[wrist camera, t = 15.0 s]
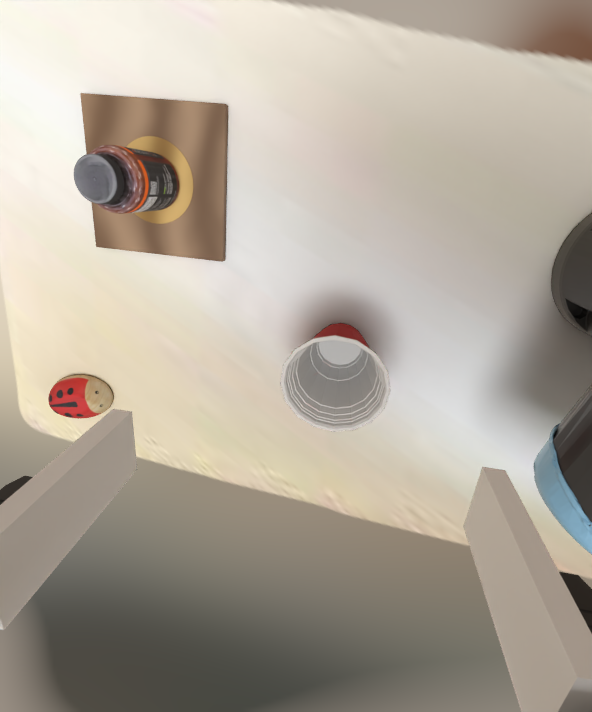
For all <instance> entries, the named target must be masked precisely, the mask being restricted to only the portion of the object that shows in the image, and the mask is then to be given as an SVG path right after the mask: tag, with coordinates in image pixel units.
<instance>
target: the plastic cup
mask: <svg viewBox="0 0 592 712" xmlns="http://www.w3.org/2000/svg"><path fill="white" fill-rule="evenodd" d="M280 384H281V388H282V392H283V395H284V399H285V402H286V403H287V404H288V405H289V407H290V408H291V409H292V411H293V412H294V413H295V414H296V416H297V417H299V418H301V419H302V420H304V421H305V422H307V423H308V424H310V425H312V426H313V427H317V428H321V429H325V430H329V431H333V432H335V431H347V430H355V429H357V428H359V427H361V426H364V425H366V424H368V423H370V422H372V421H373V420H374V419H375V418H376V417H377V416H378V415H379V413H380V412H381V411H382V410H383V409H384V408H385V405H386V402H387V399H388V396H389V393H390V384H389V377H388V371H387V369H386V368H385V366H384V365H383V363H382V362H381V360H380V359H379V357H378V356H377V354H376V353H375V352H374V351H373V350H371V349H370V348H369V346H368V344H367V343H366V341H365V340H364V338H363V337H362V335H361V334H360V333H359V331H358V330H357V329H355V328H354V327H352V326H351V325H347V324H343V323H338V324H332V325H329V326H328V327H326V328H324V329H323V330H322V331H321V332H319V333H318V334H317V335H316V336H315V337H314V338H313V339H312V340H310V341H308V342H306V343H305V344H303V345H301V346H300V347H298V348H296V349H295V350H294V351H293V352H292V354H291V355H290V357H289V358H288V359H287V361H286V362H285V364H284V365H283V370H282V376H281V382H280Z"/></svg>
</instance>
